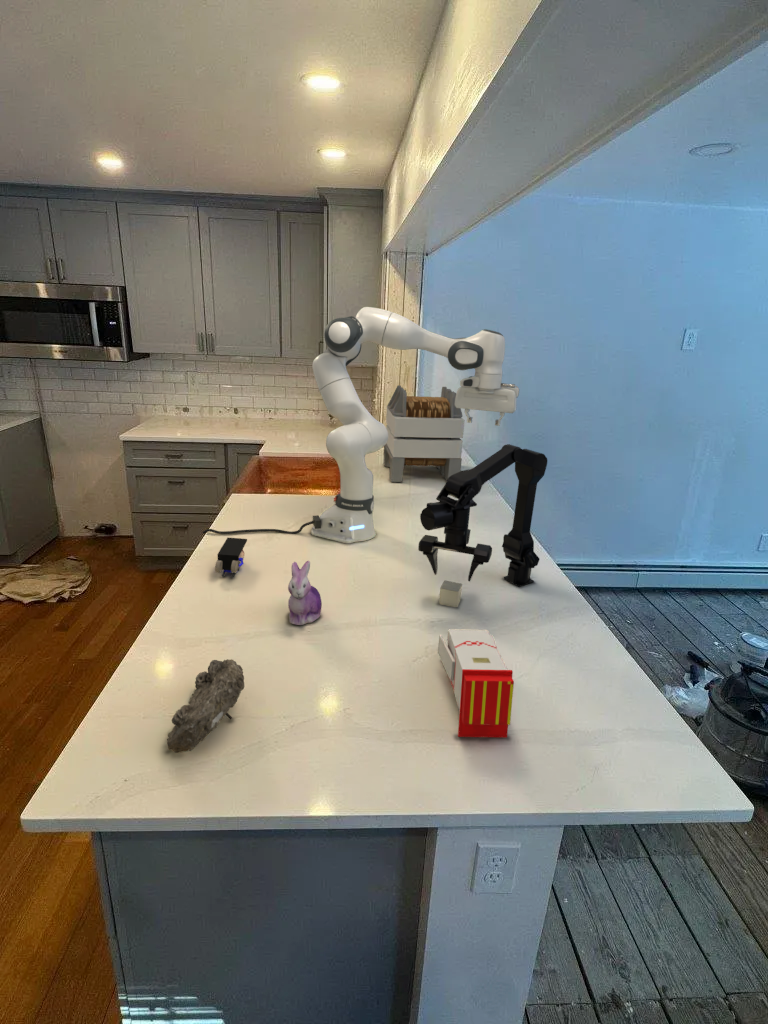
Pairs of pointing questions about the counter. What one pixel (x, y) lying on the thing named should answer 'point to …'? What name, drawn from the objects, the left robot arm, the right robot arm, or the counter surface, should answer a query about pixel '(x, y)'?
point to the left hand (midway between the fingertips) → (483, 423)
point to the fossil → (206, 705)
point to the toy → (478, 682)
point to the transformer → (423, 433)
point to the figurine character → (230, 556)
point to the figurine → (303, 597)
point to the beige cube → (450, 594)
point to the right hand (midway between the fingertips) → (452, 577)
